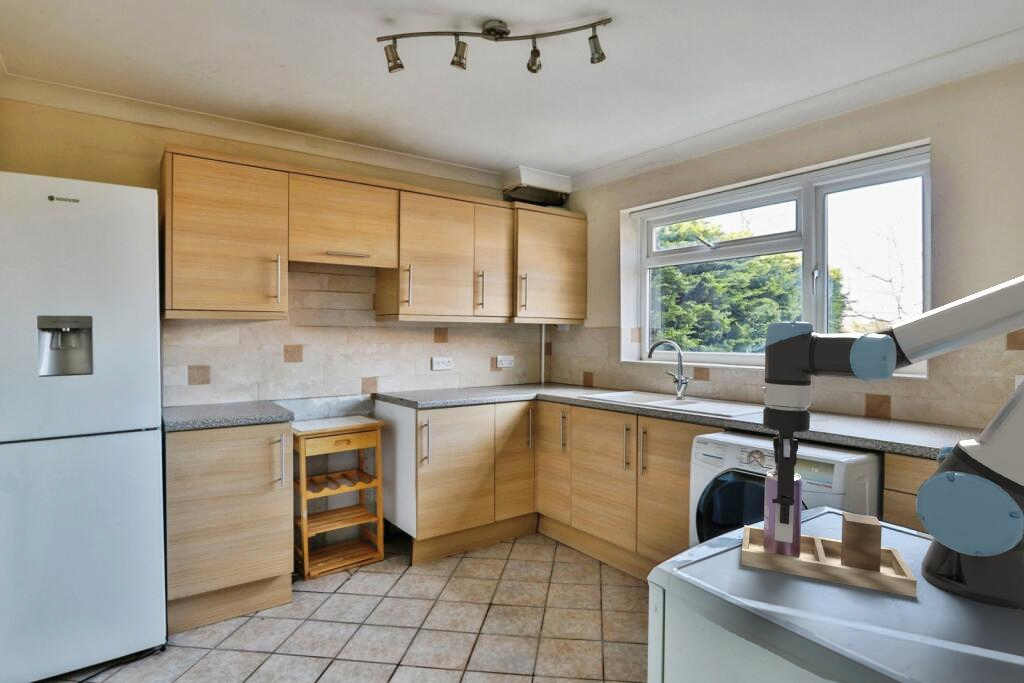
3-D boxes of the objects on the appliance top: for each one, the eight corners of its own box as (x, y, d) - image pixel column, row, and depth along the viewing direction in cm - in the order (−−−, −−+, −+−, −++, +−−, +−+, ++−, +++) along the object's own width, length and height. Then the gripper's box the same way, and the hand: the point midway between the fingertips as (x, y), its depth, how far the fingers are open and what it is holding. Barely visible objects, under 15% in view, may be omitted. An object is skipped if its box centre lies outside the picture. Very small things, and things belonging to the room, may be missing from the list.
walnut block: (874, 568, 94) (876, 516, 94) (879, 579, 90) (881, 525, 90) (840, 562, 97) (842, 512, 96) (844, 573, 92) (846, 520, 92)
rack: (896, 567, 97) (896, 549, 97) (916, 601, 84) (916, 580, 84) (743, 541, 107) (744, 525, 107) (741, 568, 95) (741, 550, 95)
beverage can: (804, 565, 95) (807, 481, 94) (767, 562, 96) (770, 479, 95) (794, 549, 101) (796, 470, 99) (759, 547, 102) (761, 468, 101)
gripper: (763, 399, 109) (760, 512, 109) (763, 412, 90) (759, 548, 90) (805, 402, 106) (802, 518, 106) (815, 416, 87) (810, 557, 87)
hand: (782, 532), depth 98 cm, fingers open, 8 cm apart
